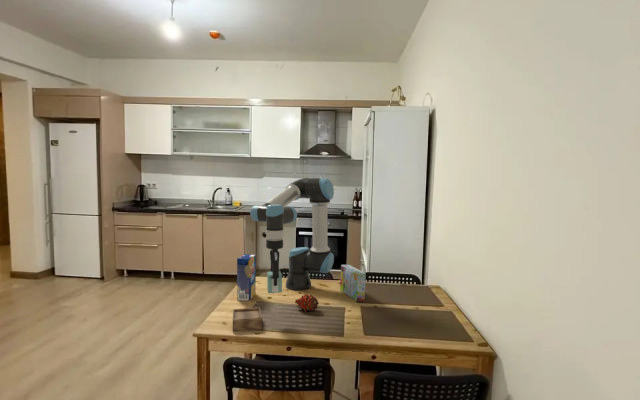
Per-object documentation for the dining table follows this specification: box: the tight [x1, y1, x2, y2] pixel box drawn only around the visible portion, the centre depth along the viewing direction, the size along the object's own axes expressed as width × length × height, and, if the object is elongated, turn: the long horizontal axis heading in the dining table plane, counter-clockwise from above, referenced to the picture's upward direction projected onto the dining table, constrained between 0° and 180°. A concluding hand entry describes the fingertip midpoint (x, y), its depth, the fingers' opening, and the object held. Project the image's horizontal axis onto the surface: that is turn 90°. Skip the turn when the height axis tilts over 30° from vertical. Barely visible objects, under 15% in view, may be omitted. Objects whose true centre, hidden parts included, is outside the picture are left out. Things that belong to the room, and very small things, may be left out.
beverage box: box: [236, 253, 257, 301], centre depth 192 cm, size 7×11×22 cm, turn 174°
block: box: [266, 270, 283, 294], centre depth 161 cm, size 6×6×8 cm
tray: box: [232, 307, 263, 332], centre depth 157 cm, size 12×12×5 cm
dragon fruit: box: [294, 293, 319, 312], centre depth 175 cm, size 8×8×12 cm
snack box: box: [339, 264, 367, 302], centre depth 198 cm, size 21×6×15 cm, turn 22°
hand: (274, 289), depth 161 cm, fingers closed on block, 6 cm apart
